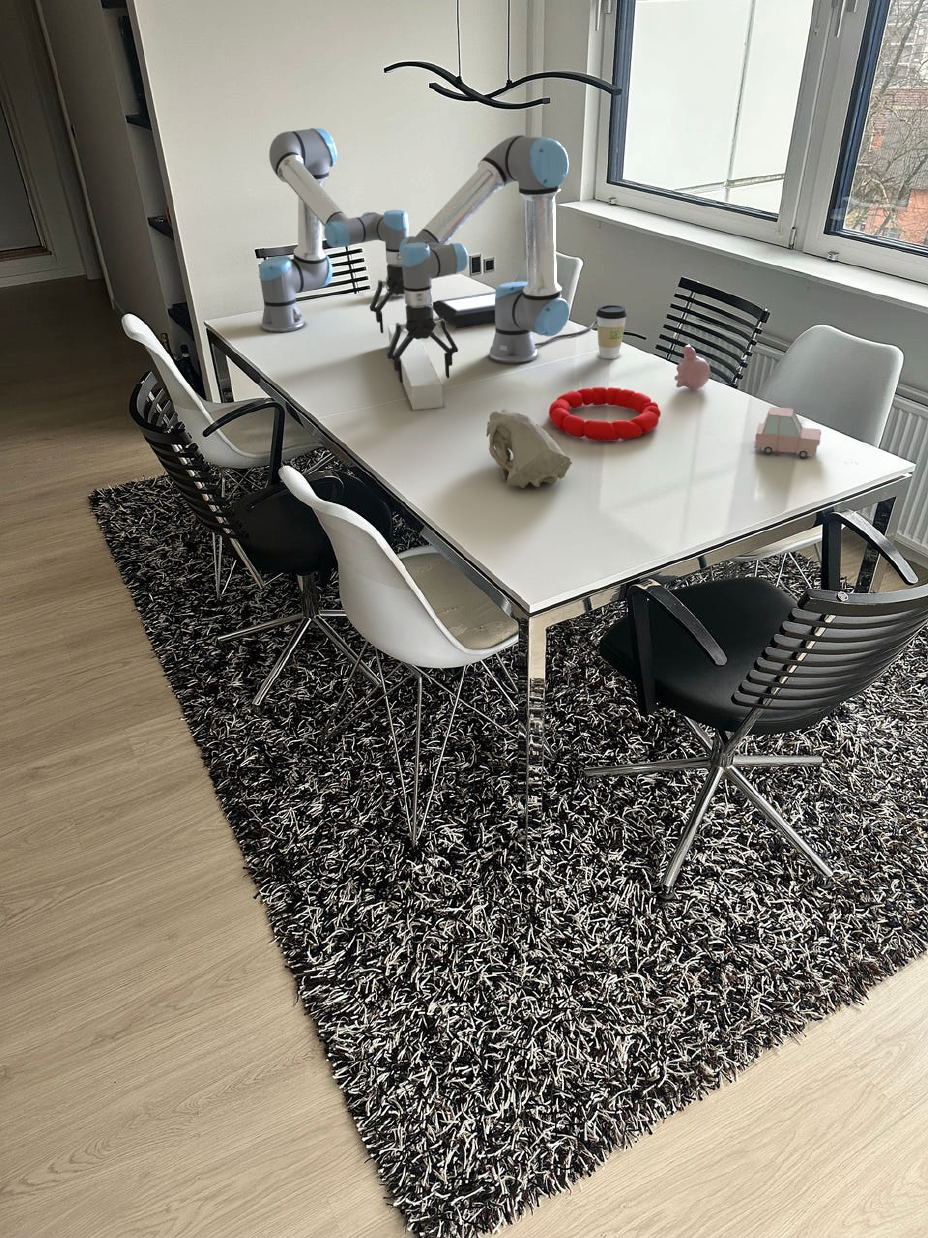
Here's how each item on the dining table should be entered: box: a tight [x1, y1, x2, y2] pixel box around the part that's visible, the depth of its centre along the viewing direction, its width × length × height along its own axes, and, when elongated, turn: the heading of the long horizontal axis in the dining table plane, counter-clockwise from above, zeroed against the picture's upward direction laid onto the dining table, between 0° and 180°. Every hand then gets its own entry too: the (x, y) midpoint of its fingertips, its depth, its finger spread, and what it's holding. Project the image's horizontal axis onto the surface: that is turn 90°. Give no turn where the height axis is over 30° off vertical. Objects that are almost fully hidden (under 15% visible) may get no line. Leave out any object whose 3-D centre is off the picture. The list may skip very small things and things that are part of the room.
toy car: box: [753, 406, 822, 459], centre depth 222 cm, size 9×15×10 cm, turn 70°
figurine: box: [674, 344, 711, 390], centre depth 259 cm, size 9×11×12 cm
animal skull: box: [485, 409, 573, 489], centre depth 216 cm, size 17×25×20 cm
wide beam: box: [387, 324, 443, 411], centre depth 278 cm, size 60×9×7 cm, turn 10°
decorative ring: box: [548, 386, 661, 442], centre depth 242 cm, size 7×30×30 cm
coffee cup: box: [595, 304, 628, 360], centre depth 285 cm, size 10×10×15 cm
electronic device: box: [432, 291, 495, 330], centre depth 326 cm, size 32×6×20 cm
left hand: (402, 330), depth 296 cm, fingers open, 13 cm apart
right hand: (424, 379), depth 257 cm, fingers open, 13 cm apart
